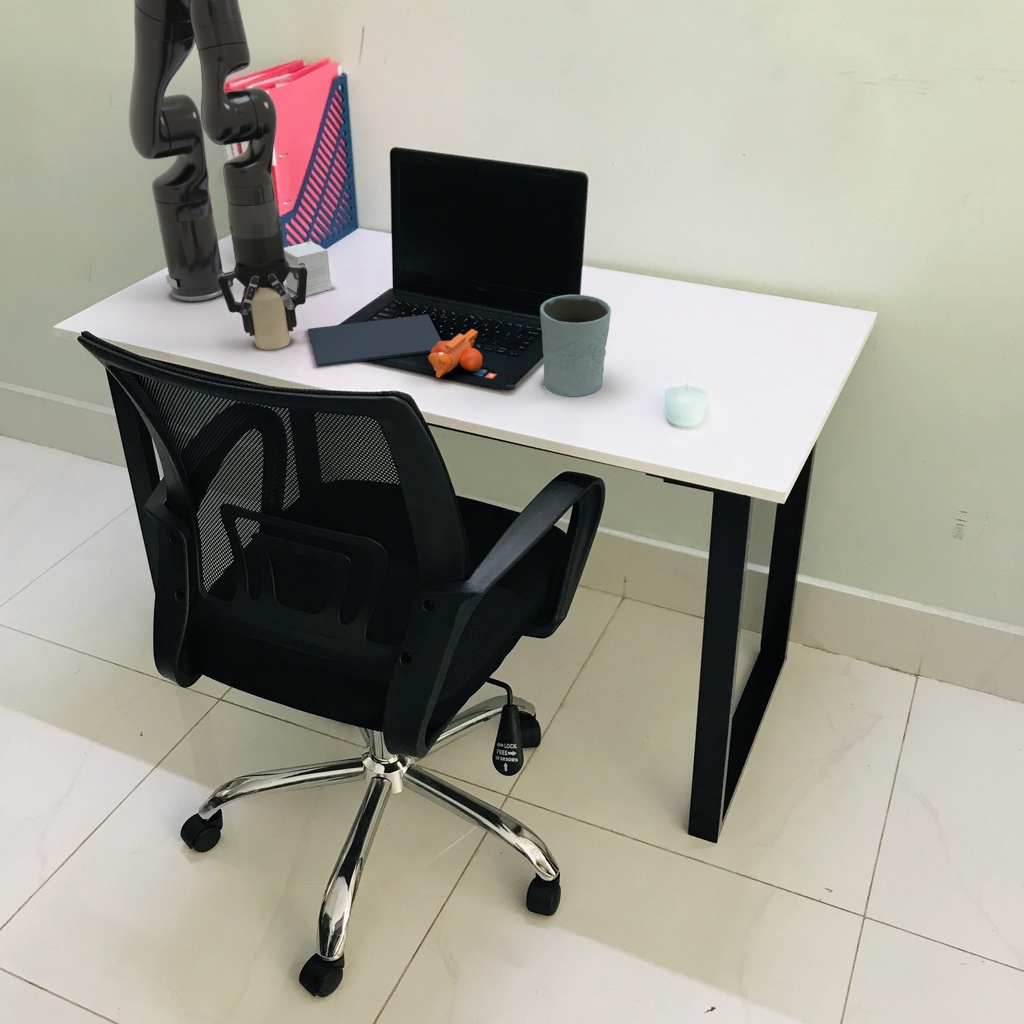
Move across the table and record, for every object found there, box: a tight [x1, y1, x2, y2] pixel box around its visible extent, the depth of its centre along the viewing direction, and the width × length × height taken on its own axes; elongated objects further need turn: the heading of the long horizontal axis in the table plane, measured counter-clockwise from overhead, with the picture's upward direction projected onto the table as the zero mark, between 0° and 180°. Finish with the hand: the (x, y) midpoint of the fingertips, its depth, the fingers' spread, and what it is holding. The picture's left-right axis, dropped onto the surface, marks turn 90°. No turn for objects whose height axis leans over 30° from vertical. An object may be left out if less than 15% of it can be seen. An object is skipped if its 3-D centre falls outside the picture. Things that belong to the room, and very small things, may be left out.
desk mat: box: [307, 314, 442, 368], centre depth 179 cm, size 14×20×1 cm
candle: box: [250, 287, 291, 351], centre depth 177 cm, size 6×6×10 cm
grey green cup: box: [539, 294, 612, 397], centre depth 162 cm, size 10×10×12 cm
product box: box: [284, 240, 332, 297], centre depth 197 cm, size 6×6×7 cm
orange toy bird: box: [427, 328, 483, 378], centre depth 169 cm, size 5×8×12 cm
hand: (271, 331), depth 178 cm, fingers closed on candle, 5 cm apart
